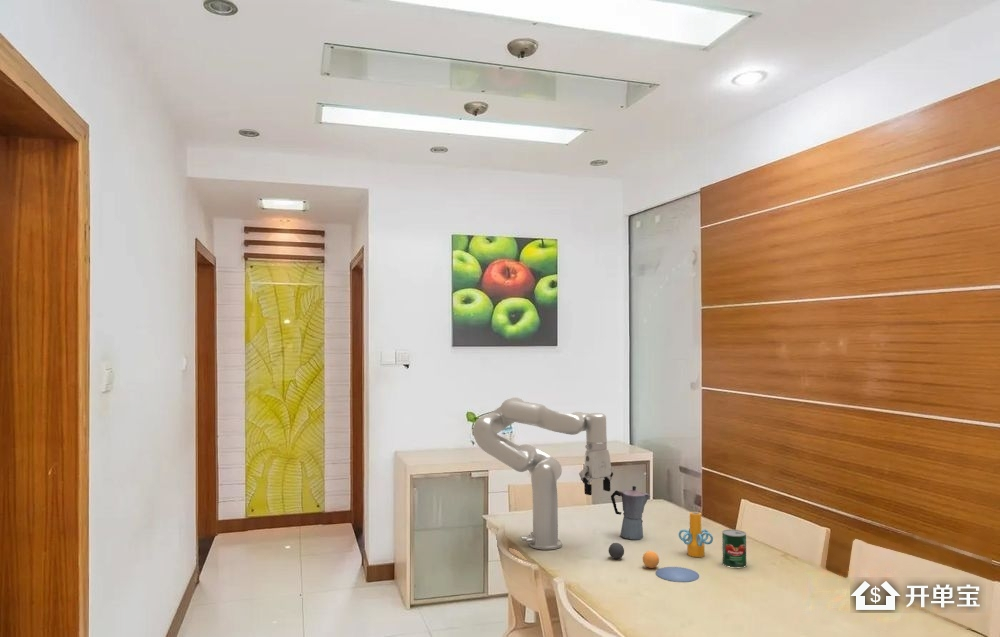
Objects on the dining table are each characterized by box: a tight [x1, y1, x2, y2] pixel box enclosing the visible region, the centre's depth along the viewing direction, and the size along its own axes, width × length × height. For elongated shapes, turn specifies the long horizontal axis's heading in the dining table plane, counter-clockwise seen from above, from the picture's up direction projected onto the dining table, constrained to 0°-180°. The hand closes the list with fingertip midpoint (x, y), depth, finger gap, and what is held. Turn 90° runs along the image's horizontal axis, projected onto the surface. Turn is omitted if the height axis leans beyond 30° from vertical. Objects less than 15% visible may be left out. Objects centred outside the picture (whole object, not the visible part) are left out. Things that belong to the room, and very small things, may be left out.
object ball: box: [642, 550, 660, 569], centre depth 231 cm, size 6×6×6 cm
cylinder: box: [678, 511, 714, 558], centre depth 245 cm, size 12×10×15 cm
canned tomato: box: [721, 529, 747, 568], centre depth 234 cm, size 8×8×11 cm
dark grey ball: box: [608, 542, 625, 560], centre depth 241 cm, size 6×6×6 cm
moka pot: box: [610, 485, 651, 540], centre depth 267 cm, size 10×15×20 cm, turn 89°
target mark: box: [655, 566, 700, 583], centre depth 224 cm, size 14×14×1 cm
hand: (597, 492), depth 252 cm, fingers open, 9 cm apart
